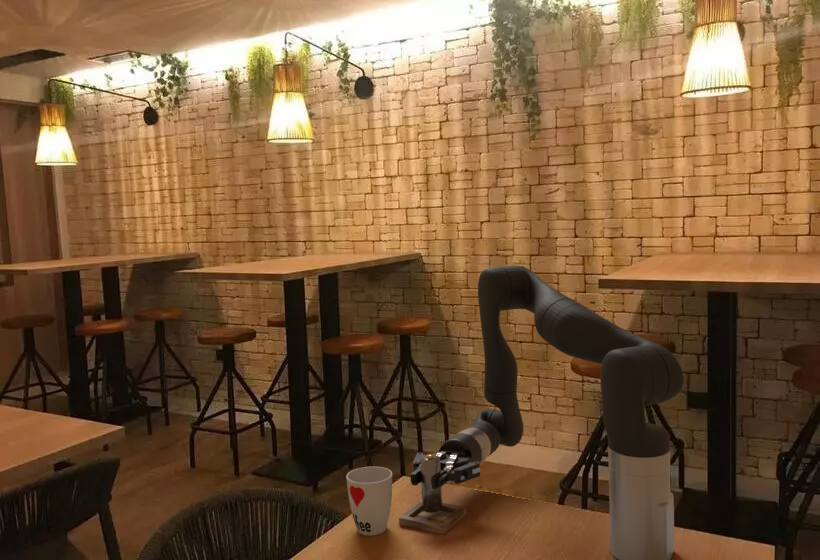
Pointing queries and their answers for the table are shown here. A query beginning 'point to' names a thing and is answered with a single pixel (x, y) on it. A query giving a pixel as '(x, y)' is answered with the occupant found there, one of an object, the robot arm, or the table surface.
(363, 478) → the cup
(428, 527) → the bay
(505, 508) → the table surface
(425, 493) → the cell
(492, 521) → the table surface
